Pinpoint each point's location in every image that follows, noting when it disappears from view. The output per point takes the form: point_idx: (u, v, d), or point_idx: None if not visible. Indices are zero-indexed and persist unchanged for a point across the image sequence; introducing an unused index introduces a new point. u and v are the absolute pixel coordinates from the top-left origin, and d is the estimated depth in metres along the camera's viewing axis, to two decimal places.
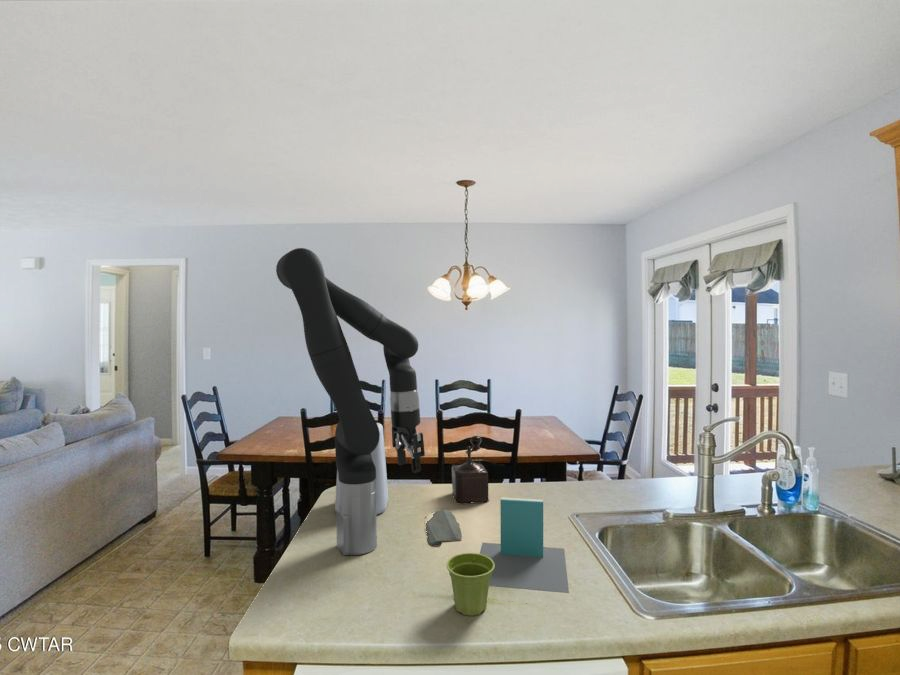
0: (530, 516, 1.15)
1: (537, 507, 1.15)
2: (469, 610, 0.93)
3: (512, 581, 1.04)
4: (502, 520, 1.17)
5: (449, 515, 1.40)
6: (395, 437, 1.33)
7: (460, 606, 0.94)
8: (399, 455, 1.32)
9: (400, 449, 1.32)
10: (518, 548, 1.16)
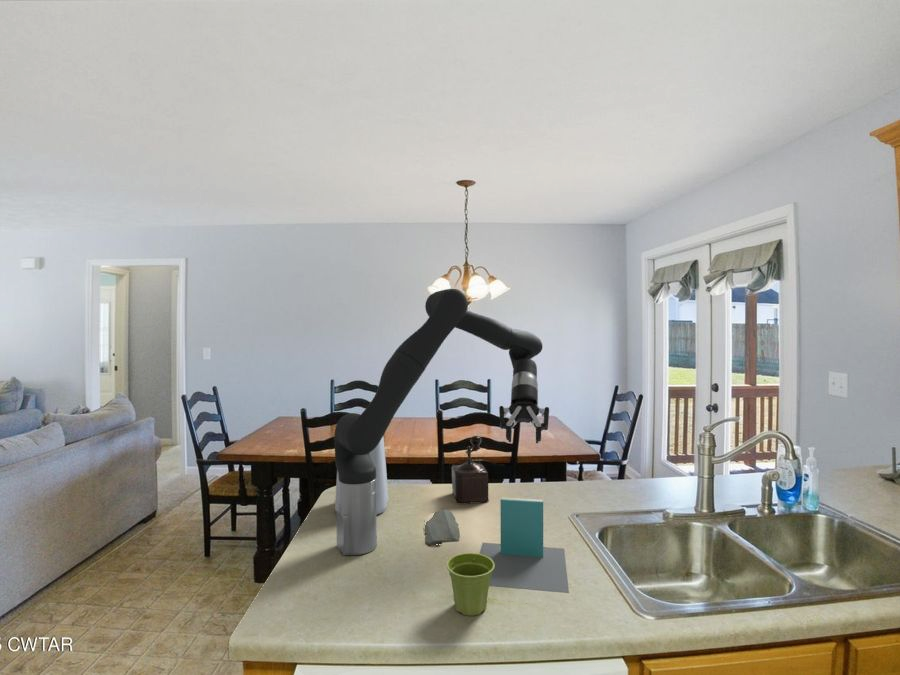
0: (530, 516, 1.15)
1: (537, 507, 1.15)
2: (469, 610, 0.93)
3: (512, 581, 1.04)
4: (502, 520, 1.17)
5: (449, 515, 1.40)
6: None
7: (460, 606, 0.94)
8: (511, 430, 1.32)
9: (510, 426, 1.33)
10: (518, 548, 1.16)
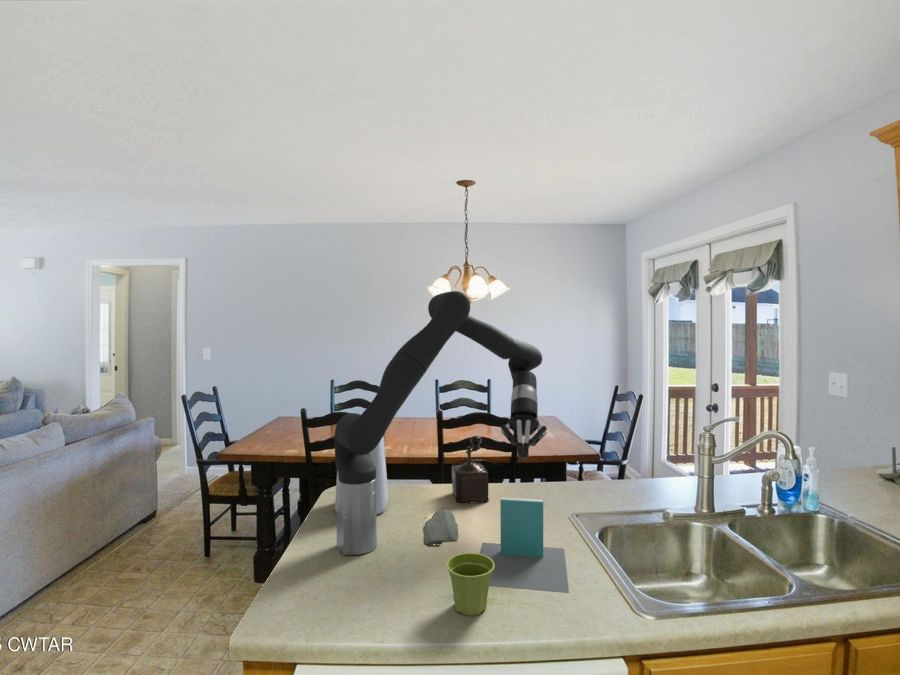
0: (530, 516, 1.15)
1: (537, 507, 1.15)
2: (469, 610, 0.93)
3: (512, 581, 1.04)
4: (502, 520, 1.17)
5: (449, 515, 1.40)
6: None
7: (460, 606, 0.94)
8: None
9: None
10: (518, 548, 1.16)
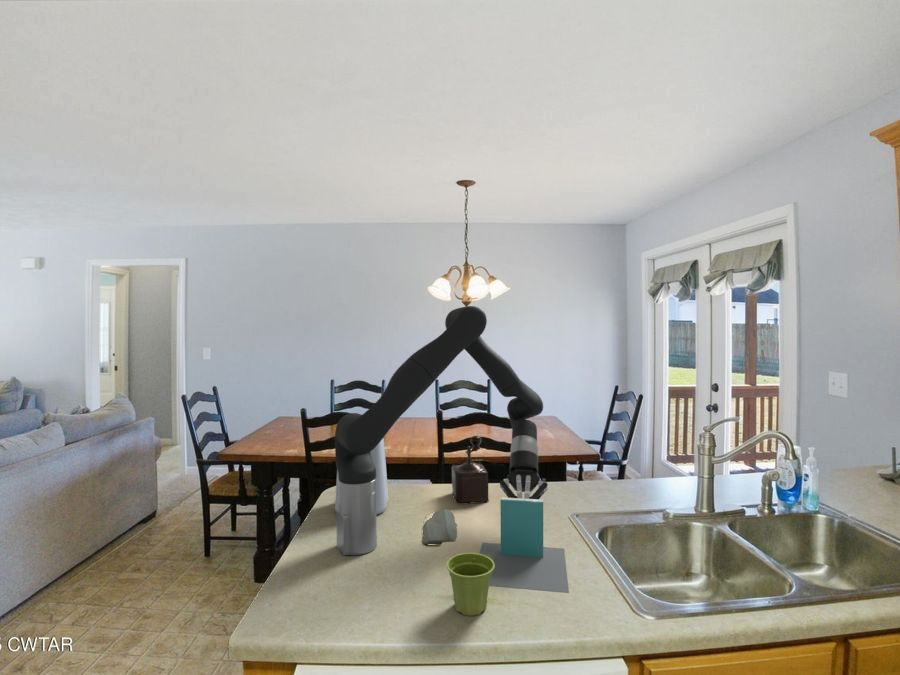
0: (530, 516, 1.15)
1: (537, 507, 1.15)
2: (469, 610, 0.93)
3: (512, 581, 1.04)
4: (502, 520, 1.17)
5: (448, 515, 1.40)
6: None
7: (460, 606, 0.94)
8: None
9: None
10: (518, 548, 1.16)
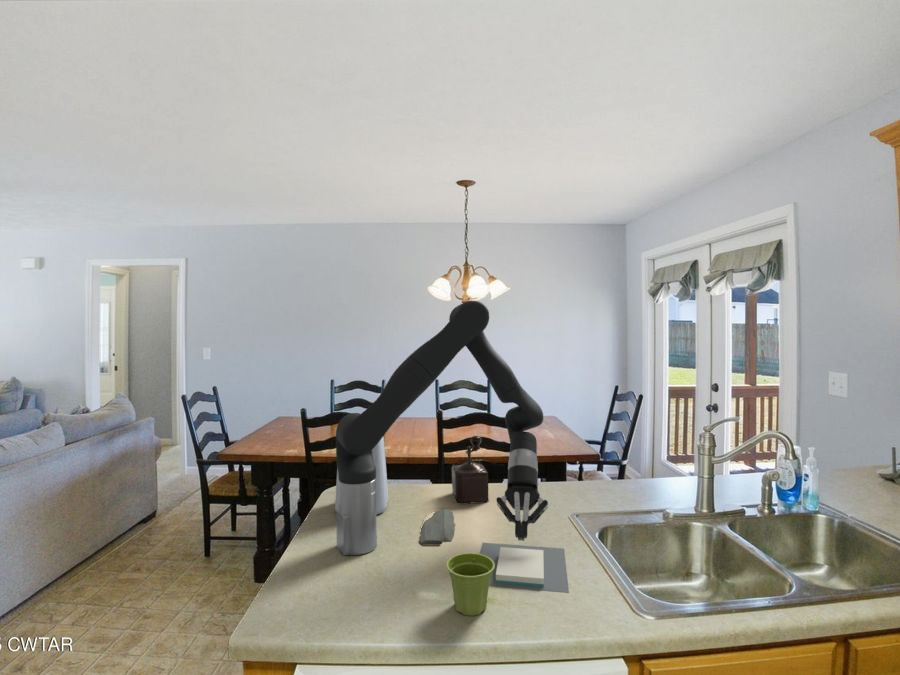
0: None
1: None
2: (469, 610, 0.93)
3: None
4: None
5: (448, 515, 1.39)
6: None
7: (460, 606, 0.94)
8: None
9: None
10: None
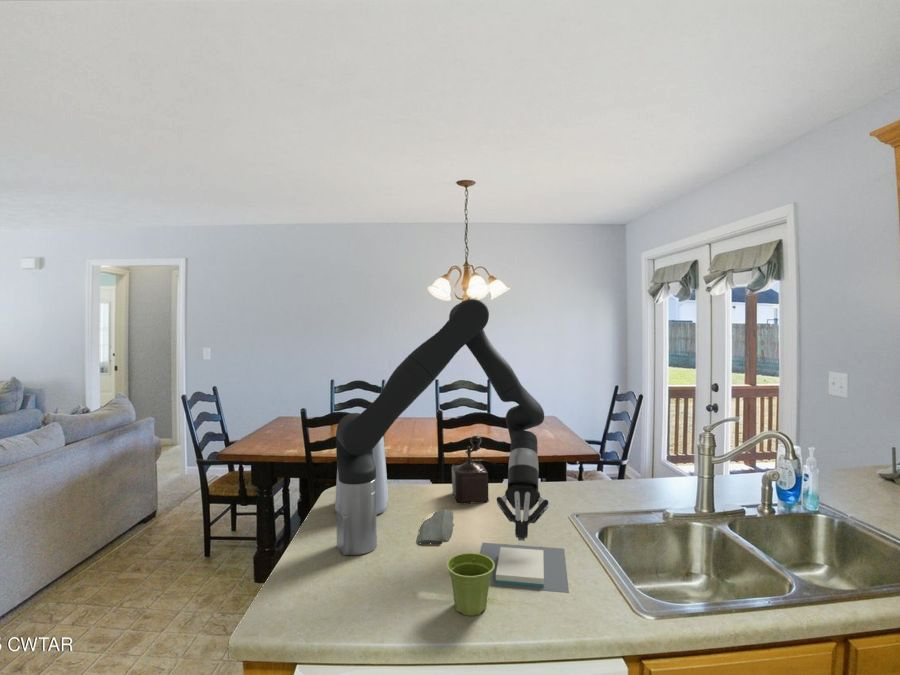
0: None
1: None
2: (469, 610, 0.93)
3: None
4: None
5: (447, 515, 1.39)
6: None
7: (460, 606, 0.94)
8: (521, 526, 1.14)
9: None
10: None
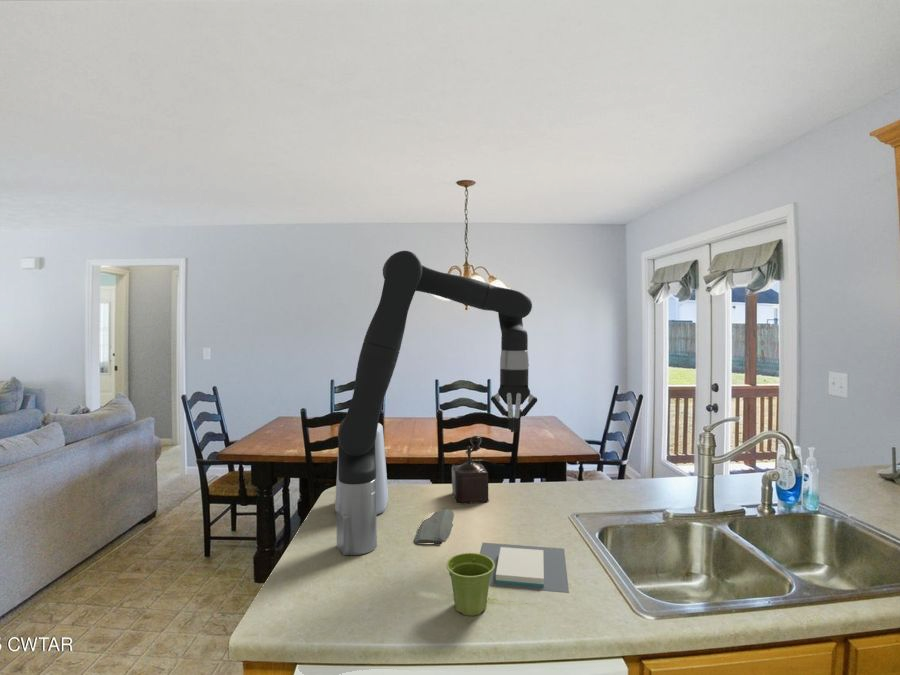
0: None
1: None
2: (469, 610, 0.93)
3: None
4: None
5: (447, 515, 1.39)
6: (500, 405, 1.31)
7: (460, 606, 0.94)
8: None
9: (512, 414, 1.31)
10: None
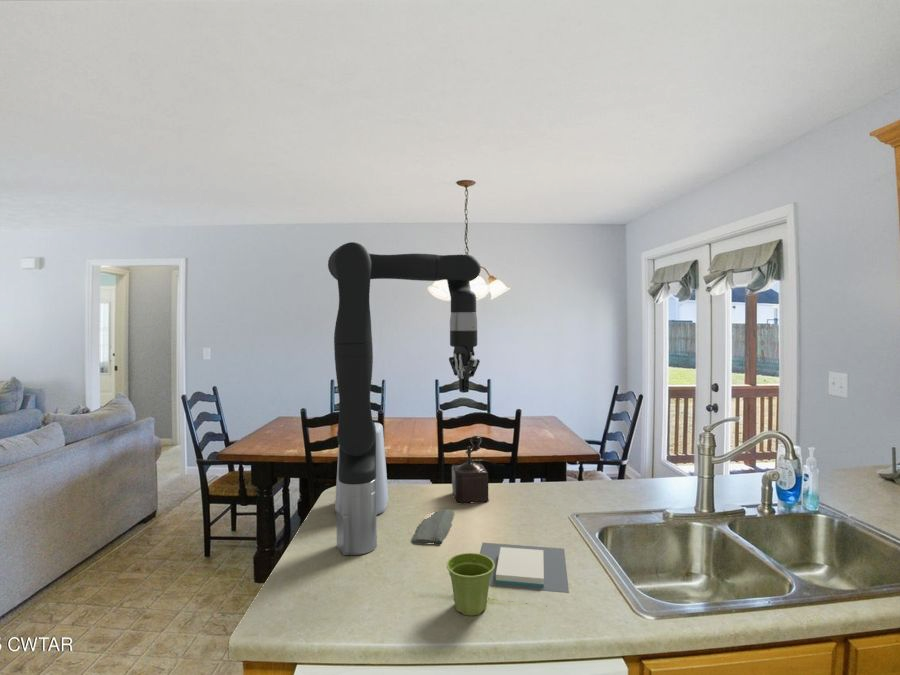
0: None
1: None
2: (469, 610, 0.93)
3: None
4: None
5: (447, 515, 1.39)
6: None
7: (460, 606, 0.94)
8: None
9: None
10: None
